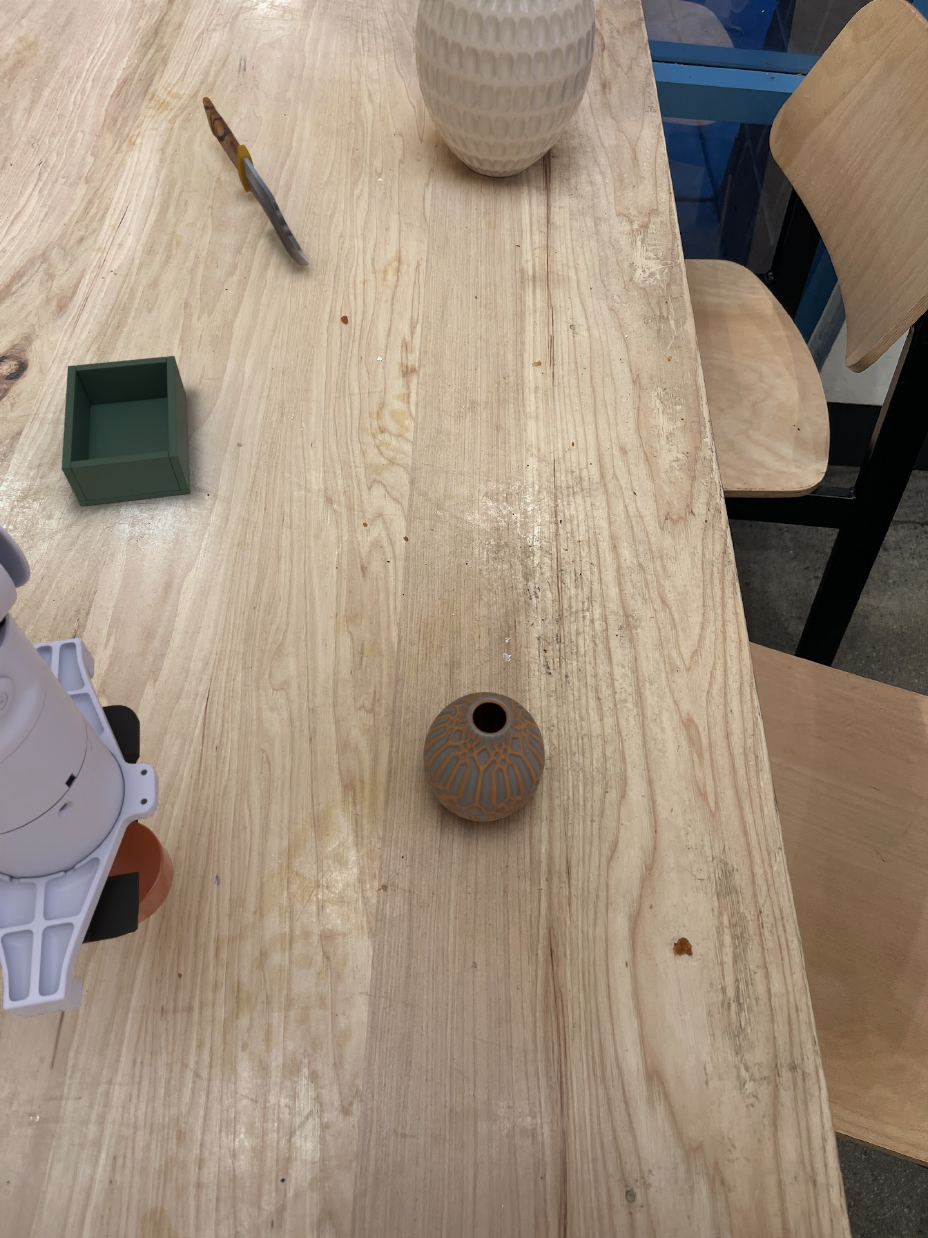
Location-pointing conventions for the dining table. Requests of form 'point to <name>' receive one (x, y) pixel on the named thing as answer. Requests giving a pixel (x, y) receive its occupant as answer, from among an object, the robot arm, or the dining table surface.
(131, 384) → the tub
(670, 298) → the dining table surface
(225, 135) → the knife
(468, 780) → the vase
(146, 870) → the cylinder
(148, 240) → the dining table surface
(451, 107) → the vase
